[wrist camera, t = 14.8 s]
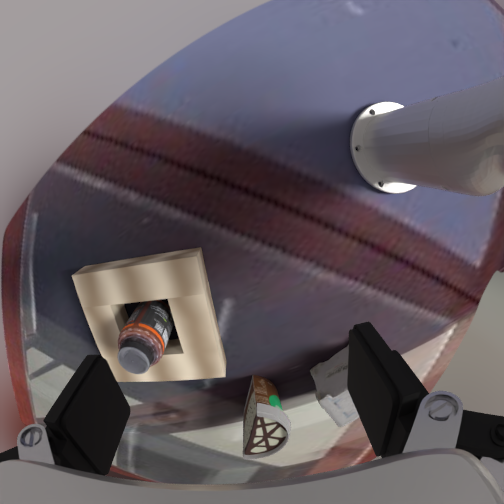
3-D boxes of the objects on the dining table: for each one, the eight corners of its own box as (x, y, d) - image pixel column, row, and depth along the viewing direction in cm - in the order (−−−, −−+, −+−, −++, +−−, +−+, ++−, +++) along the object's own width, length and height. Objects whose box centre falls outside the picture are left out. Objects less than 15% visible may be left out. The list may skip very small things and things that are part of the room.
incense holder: (357, 327, 42) (383, 367, 32) (375, 359, 44) (400, 398, 34) (303, 361, 43) (317, 407, 33) (326, 389, 45) (342, 433, 35)
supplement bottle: (133, 323, 41) (105, 368, 30) (142, 290, 39) (112, 331, 28) (169, 338, 41) (151, 387, 31) (180, 306, 40) (162, 352, 29)
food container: (275, 420, 47) (281, 462, 38) (242, 417, 47) (242, 460, 37) (292, 371, 44) (303, 415, 34) (254, 367, 43) (257, 413, 34)
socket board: (201, 247, 38) (196, 256, 34) (226, 360, 43) (225, 376, 39) (84, 266, 38) (71, 275, 34) (121, 366, 43) (113, 381, 39)
